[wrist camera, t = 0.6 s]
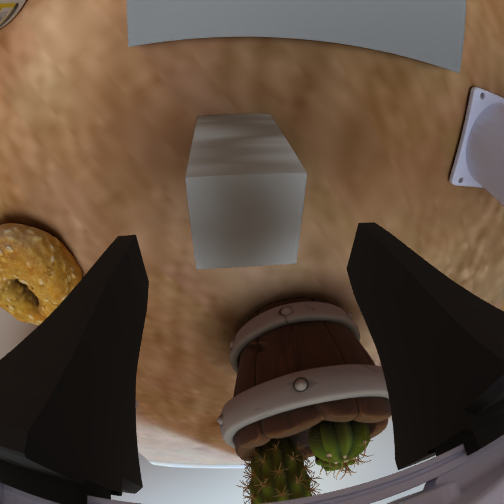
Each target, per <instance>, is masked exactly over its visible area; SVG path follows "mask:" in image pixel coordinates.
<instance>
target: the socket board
mask: <svg viewBox="0 0 504 504" xmlns="http://www.w3.org/2000/svg"><path fill="white" fill-rule="evenodd" d="M465 16H466V0H127V26H128V45H129V47H131V46H138V45H144V44H151V43H158V42H166V41H175V40H185V39H197V38H214V37H276V38H292V39H304V40H315V41H323V42H331V43H338V44H345V45H351V46H357V47H363V48H368V49H373V50H378V51H383V52H387V53H392V54H396V55H400V56H404V57H408V58H411V59H415V60H419V61H422V62H426V63H429V64H432V65H436V66H439V67H442V68H445V69H448V70H451V71H454V72H457V73H460V68H461V60H462V52H463V42H464V31H465Z"/></svg>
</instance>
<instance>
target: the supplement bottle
mask: <svg viewBox="0 0 504 504" xmlns="http://www.w3.org/2000/svg"><path fill="white" fill-rule="evenodd" d="M25 1H26V0H0V28H2V27H3V26H5V25H6V24H7V23H8V22H10V21H11V20H12V19H13V18H14V17H15V16H16V14H17V13H18V12H19V10H20V9H21V8H22V6H23V4H24V3H25Z"/></svg>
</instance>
